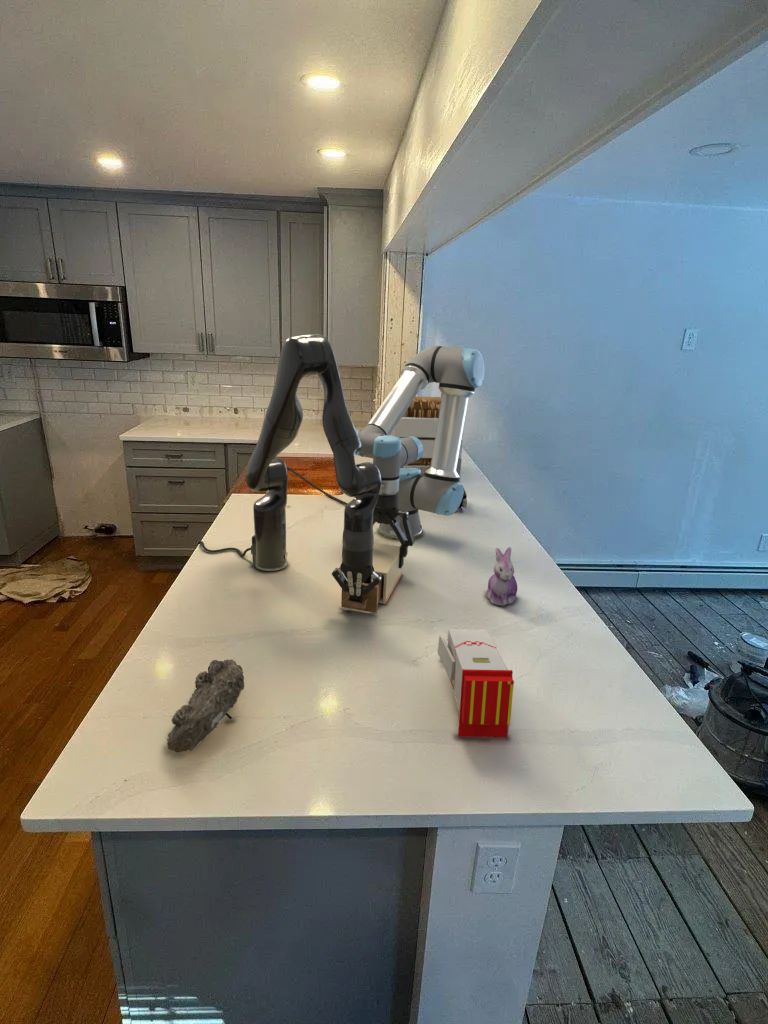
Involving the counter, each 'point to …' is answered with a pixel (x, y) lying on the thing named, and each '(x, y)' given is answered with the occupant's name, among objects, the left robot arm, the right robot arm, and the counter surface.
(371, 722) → the counter surface
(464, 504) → the figurine character
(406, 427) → the grey slatted crate
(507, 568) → the figurine
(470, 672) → the toy
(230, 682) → the fossil
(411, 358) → the right robot arm
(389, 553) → the cabinet
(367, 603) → the drawer
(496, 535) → the counter surface
